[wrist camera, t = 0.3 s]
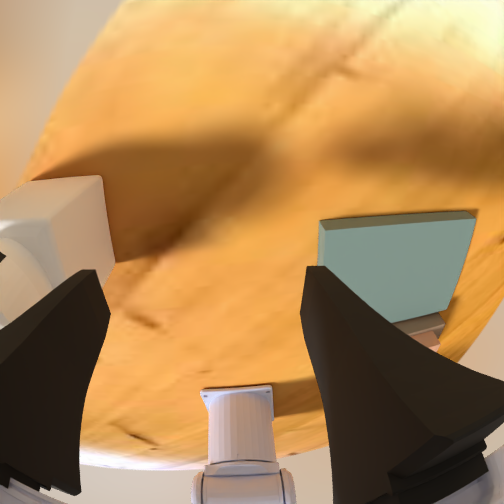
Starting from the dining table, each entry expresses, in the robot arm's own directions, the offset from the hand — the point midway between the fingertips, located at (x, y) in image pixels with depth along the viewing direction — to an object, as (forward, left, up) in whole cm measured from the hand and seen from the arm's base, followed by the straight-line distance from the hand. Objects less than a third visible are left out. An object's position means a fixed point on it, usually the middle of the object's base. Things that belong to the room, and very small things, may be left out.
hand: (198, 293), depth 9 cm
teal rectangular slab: (-8, -14, -10) cm, 19 cm away
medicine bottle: (0, +11, -10) cm, 15 cm away
